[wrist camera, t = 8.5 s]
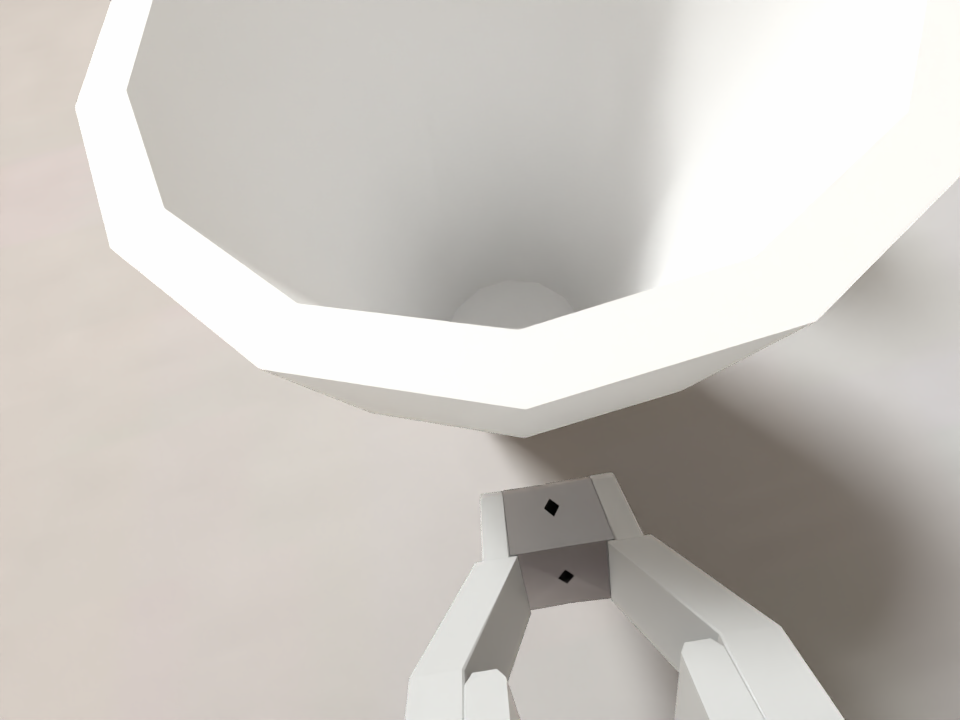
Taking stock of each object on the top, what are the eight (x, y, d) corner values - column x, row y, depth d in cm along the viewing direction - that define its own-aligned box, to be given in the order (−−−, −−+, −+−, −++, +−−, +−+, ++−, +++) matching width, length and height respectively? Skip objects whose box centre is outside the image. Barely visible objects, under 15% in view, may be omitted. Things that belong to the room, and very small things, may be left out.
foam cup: (460, 230, 18) (332, -262, 6) (652, 287, 17) (1037, -265, 4) (374, 410, 16) (-93, 216, 4) (582, 499, 14) (942, 663, 2)
